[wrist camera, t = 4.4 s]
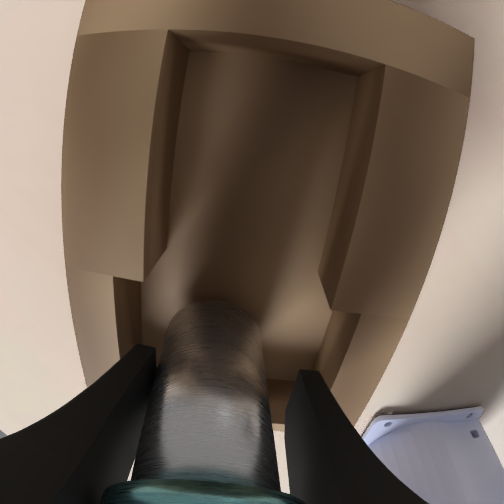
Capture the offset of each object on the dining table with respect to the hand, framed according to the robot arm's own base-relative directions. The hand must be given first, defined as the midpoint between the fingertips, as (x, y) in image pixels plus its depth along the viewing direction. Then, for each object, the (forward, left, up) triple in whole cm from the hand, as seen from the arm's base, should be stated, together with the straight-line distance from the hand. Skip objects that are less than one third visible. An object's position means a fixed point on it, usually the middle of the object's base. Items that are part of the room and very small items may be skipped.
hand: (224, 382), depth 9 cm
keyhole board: (0, -4, -4) cm, 6 cm away
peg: (+1, 0, -2) cm, 2 cm away
